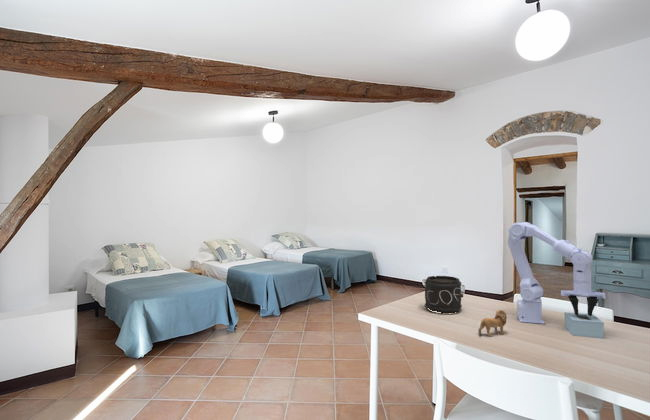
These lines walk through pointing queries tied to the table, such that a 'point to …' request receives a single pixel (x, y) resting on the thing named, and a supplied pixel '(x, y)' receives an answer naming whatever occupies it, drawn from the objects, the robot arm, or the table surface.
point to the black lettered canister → (443, 294)
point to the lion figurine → (494, 323)
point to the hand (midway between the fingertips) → (583, 314)
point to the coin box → (584, 325)
